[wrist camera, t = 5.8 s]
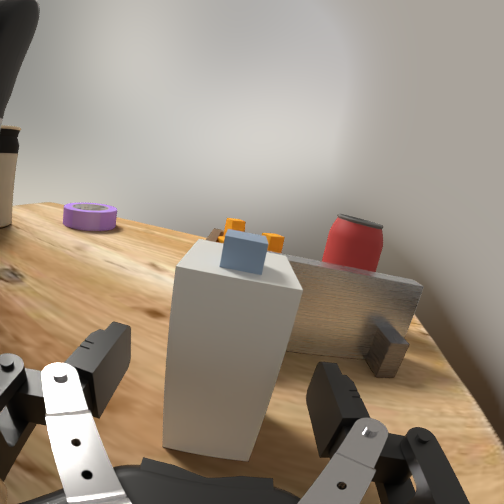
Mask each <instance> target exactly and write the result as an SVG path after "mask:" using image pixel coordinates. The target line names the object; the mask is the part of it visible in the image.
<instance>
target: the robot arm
mask: <svg viewBox="0 0 504 504" xmlns="http://www.w3.org/2000/svg"><path fill="white" fill-rule="evenodd" d="M39 12H40V8H39V4H38V1H37V0H0V129H1V124H2V119H3V115H4V111H5V108H6V105H7V103H8V101H9V98H10V96H11V93H12V90H13V87H14V84H15V81H16V78H17V75H18V72H19V70H20V67H21V65H22V62H23V60H24V57H25V54H26V53H27V50H28V48H29V46H30V43H31V41H32V38H33V36H34V33H35V30H36V27H37V24H38V20H39ZM130 358H131V328H130V326H128V325H125V324H121V323H117V322H112V323H111V324H110V325H109V326H108V328H107V329H106V330H105V331H104V330H101V329H99V330H97V331H95V332H93V333H91V334H90V335H89V336H88V337H87V338H86V339H85V341H83V342H82V344H81V345H80V346H79V347H78V348H77V349H76V350H75V351H74V352H73V353H72V355H71V356H70V357H69V358H68V359H67V360H66V361H65V362H64V363H53V364H50V365H48V366H47V367H45V368H44V369H43V371H38V370H32V369H27V368H25V367H24V363H23V360H22V359H21V358H20V357H19V356H17V355H15V354H10V353H6V354H1V355H0V412H1V411H2V412H1V413H0V504H6V503H7V502H6V500H7V488H6V486H5V484H4V483H3V482H4V480H5V478H6V476H7V474H8V472H9V471H10V469H11V467H12V465H13V463H14V462H15V460H16V458H17V456H18V454H19V453H20V451H21V449H22V448H23V446H24V444H25V442H26V441H27V439H28V437H29V436H30V434H31V433H32V431H33V429H34V428H35V426H36V424H41V425H47V427H48V432H49V436H50V441H51V445H52V450H53V454H54V457H55V461H56V465H57V468H58V472H59V475H60V479H61V482H62V485H63V489H60V490H57V491H55V492H52V493H49V494H47V495H44V496H41V497H38V498H35V499H32V500H29V501H26V502H23V503H19V504H360V502H361V500H362V498H363V496H364V494H365V492H366V490H367V488H368V486H369V484H370V482H371V481H372V482H375V484H376V487H377V491H378V494H379V498H380V501H381V504H470V503H469V501H468V499H467V497H466V495H465V493H464V491H463V489H462V487H461V485H460V483H459V481H458V479H457V477H456V475H455V473H454V471H453V469H452V467H451V465H450V463H449V461H448V460H447V458H446V456H445V454H444V452H443V450H442V448H441V446H440V445H439V443H438V441H437V439H436V437H435V436H434V435H433V434H432V433H431V432H430V431H429V430H427V429H424V428H420V427H415V428H412V429H410V430H409V431H408V432H407V434H406V435H405V436H402V435H396V434H391V433H388V430H387V428H386V427H385V426H384V424H382V423H381V422H380V421H378V420H375V419H372V418H370V416H369V414H368V412H367V409H366V407H365V405H364V403H363V401H362V399H361V398H360V395H359V393H358V392H357V388H356V386H355V384H354V382H353V381H352V380H351V379H350V378H349V377H348V376H346V375H342V373H341V371H340V369H339V367H338V365H337V364H336V363H328V362H319V363H318V364H317V366H316V369H315V372H314V374H313V377H312V379H311V382H310V385H309V387H308V390H307V394H306V403H307V407H308V411H309V415H310V419H311V423H312V428H313V432H314V436H315V440H316V444H317V449H318V453H319V457H320V458H326V457H330V461H329V463H328V464H327V466H326V467H325V468H324V470H323V471H322V473H321V474H320V475H319V477H318V478H317V479H316V481H315V482H314V483H313V485H312V486H311V487H310V488H309V490H308V491H307V492H306V494H305V495H304V496H303V497H302V498H301V499H300V498H298V497H297V496H295V495H293V494H292V493H290V492H287V491H285V490H282V489H279V488H276V487H273V478H257V477H246V476H236V477H222V478H206V477H203V476H200V475H197V474H195V473H192V472H190V471H187V470H185V469H182V468H180V467H178V466H175V465H172V464H167V463H163V462H159V461H155V460H151V459H148V458H144V457H143V460H142V463H141V465H123V466H117V467H112V465H111V463H110V460H109V458H108V456H107V453H106V451H105V449H104V446H103V444H102V441H101V439H100V436H99V433H98V431H97V428H96V425H95V423H94V420H93V417H96V418H100V417H101V415H102V413H103V411H104V409H105V408H106V406H107V404H108V402H109V401H110V399H111V397H112V395H113V393H114V392H115V390H116V388H117V386H118V385H119V383H120V381H121V380H122V378H123V376H124V374H125V373H126V371H127V369H128V367H129V363H130ZM4 407H5V408H4ZM3 408H4V409H3ZM92 416H93V417H92ZM411 476H413V478H414V481H415V483H416V488H417V489H416V492H415V490H414V487H413V484H412V482H411V479H410V477H411Z"/></svg>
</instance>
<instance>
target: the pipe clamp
mask: <svg viewBox="0 0 504 504" xmlns="http://www.w3.org/2000/svg"><path fill="white" fill-rule="evenodd" d="M245 223H246V222H245V221H242V220H240V219H232V218H227V220H226V225H225V230H224V235H223V236H218V239H217V242H218V243H223V244H224V239H225V235H226V232H227V230H228V229H232V230H237V231H242V232H245ZM262 236H266V238H267V241H268V248H267V251H272V252H277V253H281V251H282V247H283V242H284V237H282V236H280V235H277V234H271V233H262Z"/></svg>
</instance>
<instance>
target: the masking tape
mask: <svg viewBox="0 0 504 504" xmlns="http://www.w3.org/2000/svg"><path fill="white" fill-rule="evenodd" d="M116 216H117V208H115V207H112V206H109V205H104V204H96V203H70V204H66V205H64V213H63V224H64V225H65V226H67V227H70V228H74V229H79V230H87V231H104V230H111V229H114V228H115V226H116Z"/></svg>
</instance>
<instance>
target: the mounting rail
mask: <svg viewBox="0 0 504 504" xmlns="http://www.w3.org/2000/svg"><path fill="white" fill-rule="evenodd" d="M267 252H269V253H274V254H279V255H284V256H286V257H287V259H288V261H289V263H290V265H291V267H292V269H293V271H294V273H295V275H296V277H297V279H298V281H299V283H300V285H301V287H302V289H303V292H302V296H301V300H300V303H299V307H298V310H297V314H296V317H295V321H294V324H293V328H292V331H291V335H290V338H289V342H288V345H287V348H286V351H291V352H298V353H306V354H315V355H324V356H334V357H345V358H357V359H365V360H366V361H367V363H368V365H369V366H370V368H371V370H372V371H373V373H374V375H375V376H376V377H395V375H396V372H397V370H398V368H399V366H400V364H401V362H402V360H403V358H404V356H405V353H406V351H407V349H408V347H409V343H408V342H407V341H406V340H405V339H404V338H405V335H406V333H407V330H408V328H409V325H410V323H411V320H412V318H413V315H414V313H415V310H416V307H417V304H418V301H419V299H420V296H421V293H422V290H423V286H422V285H420V284H419V283H418V282H416V281H415V280H412V279H407V278H402V277H397V276H392V275H387V274H382V273H377V272H372V271H367V270H362V269H357V268H352V267H347V266H342V265H337V264H332V263H327V262H322V261H317V260H312V259H307V258H302V257H296V256H292V255H287V254H282V253H277V252H272V251H267Z"/></svg>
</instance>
